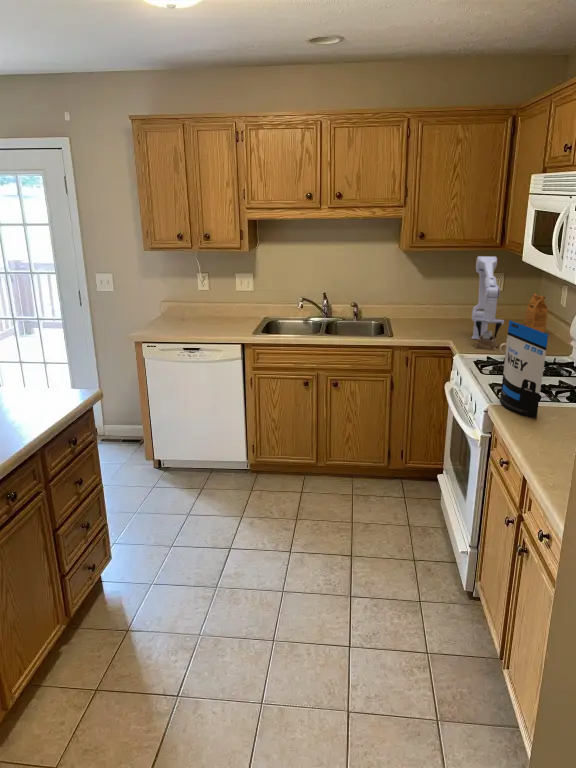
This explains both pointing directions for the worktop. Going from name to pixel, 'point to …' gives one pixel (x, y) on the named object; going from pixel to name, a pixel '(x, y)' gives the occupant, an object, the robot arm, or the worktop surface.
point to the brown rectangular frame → (486, 343)
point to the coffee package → (536, 314)
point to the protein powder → (523, 369)
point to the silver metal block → (487, 335)
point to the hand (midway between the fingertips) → (487, 336)
